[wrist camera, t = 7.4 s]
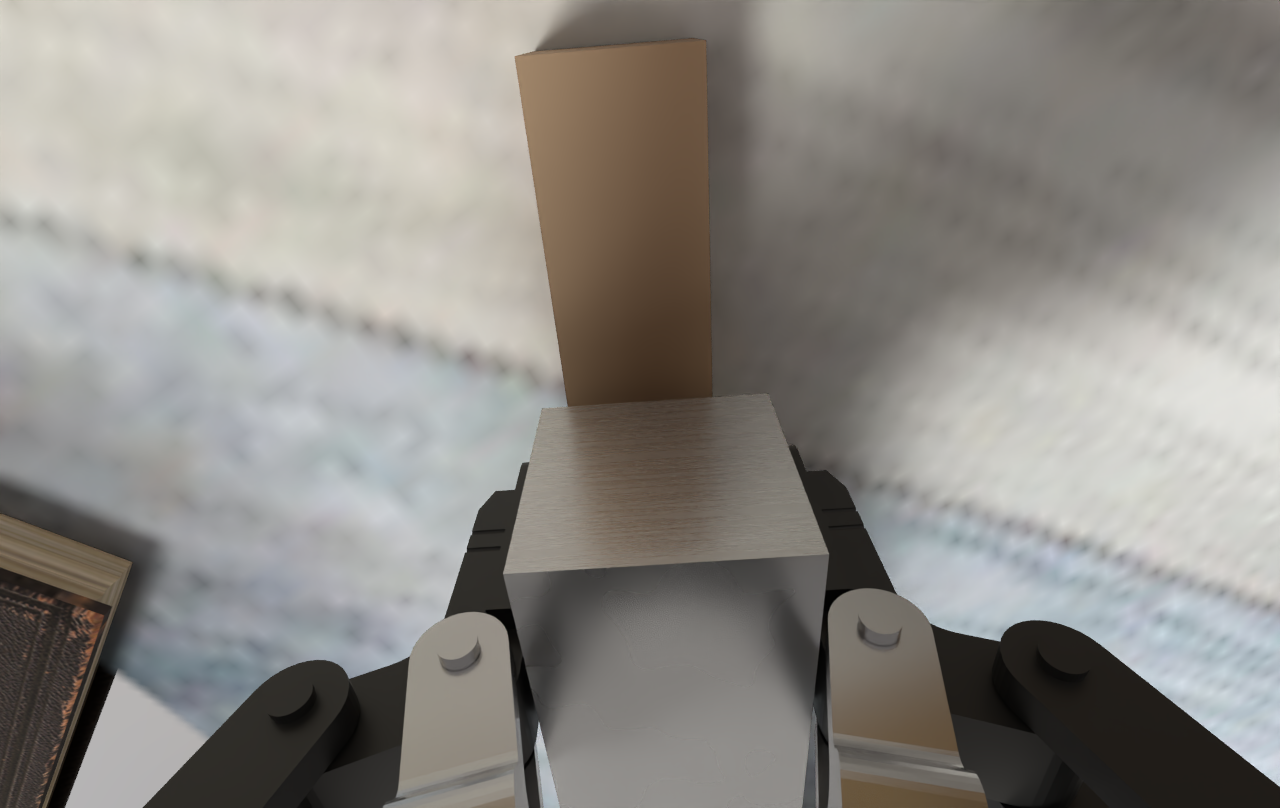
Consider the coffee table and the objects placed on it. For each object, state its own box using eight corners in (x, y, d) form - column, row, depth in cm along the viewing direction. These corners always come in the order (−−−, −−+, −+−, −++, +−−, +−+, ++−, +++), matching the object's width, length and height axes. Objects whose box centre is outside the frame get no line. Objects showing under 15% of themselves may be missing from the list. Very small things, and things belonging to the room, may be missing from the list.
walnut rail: (693, 37, 10) (706, 40, 9) (713, 812, 22) (720, 877, 21) (533, 51, 10) (514, 56, 9) (639, 816, 22) (640, 882, 21)
